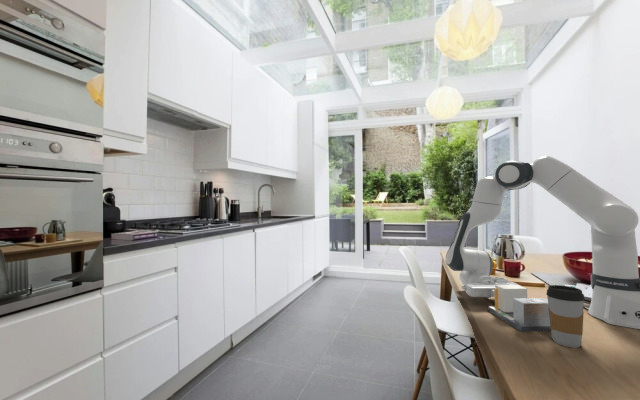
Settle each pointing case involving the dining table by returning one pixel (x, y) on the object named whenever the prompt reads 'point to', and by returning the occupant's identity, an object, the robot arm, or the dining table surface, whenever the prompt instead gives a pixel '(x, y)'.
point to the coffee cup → (566, 314)
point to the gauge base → (526, 314)
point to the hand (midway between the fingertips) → (505, 296)
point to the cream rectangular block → (508, 296)
